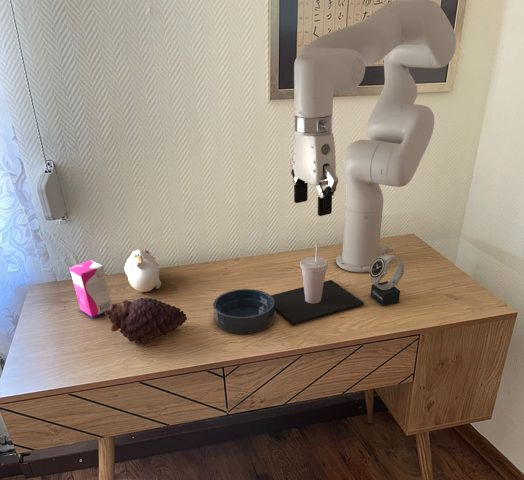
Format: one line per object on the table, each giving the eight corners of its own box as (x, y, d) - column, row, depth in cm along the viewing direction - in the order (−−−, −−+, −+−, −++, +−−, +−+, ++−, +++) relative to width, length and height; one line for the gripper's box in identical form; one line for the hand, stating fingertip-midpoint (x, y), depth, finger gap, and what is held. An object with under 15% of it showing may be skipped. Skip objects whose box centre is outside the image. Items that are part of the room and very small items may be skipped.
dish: (258, 299, 127) (257, 284, 125) (285, 324, 117) (285, 308, 114) (205, 313, 122) (204, 297, 120) (229, 341, 112) (227, 324, 110)
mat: (330, 282, 134) (331, 279, 133) (363, 305, 123) (363, 302, 123) (264, 300, 127) (264, 297, 126) (292, 326, 116) (292, 322, 116)
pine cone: (176, 314, 122) (189, 288, 115) (185, 350, 118) (199, 326, 110) (98, 314, 114) (106, 286, 106) (105, 353, 109) (114, 327, 102)
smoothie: (325, 307, 121) (327, 250, 114) (297, 305, 122) (298, 248, 115) (327, 294, 126) (330, 239, 119) (301, 292, 128) (302, 237, 120)
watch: (363, 297, 126) (367, 255, 120) (392, 291, 129) (397, 249, 122) (375, 308, 122) (380, 264, 116) (405, 301, 124) (411, 257, 118)
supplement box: (101, 302, 128) (91, 258, 122) (114, 310, 125) (104, 265, 118) (79, 310, 125) (68, 266, 119) (92, 319, 121) (81, 274, 115)
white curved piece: (146, 262, 124) (137, 234, 135) (120, 282, 125) (112, 252, 136) (171, 287, 131) (159, 258, 142) (145, 306, 132) (136, 276, 143)
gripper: (354, 129, 100) (349, 216, 109) (306, 115, 113) (306, 194, 122) (320, 134, 97) (319, 223, 107) (276, 119, 110) (278, 200, 120)
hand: (312, 208), depth 114 cm, fingers open, 9 cm apart
